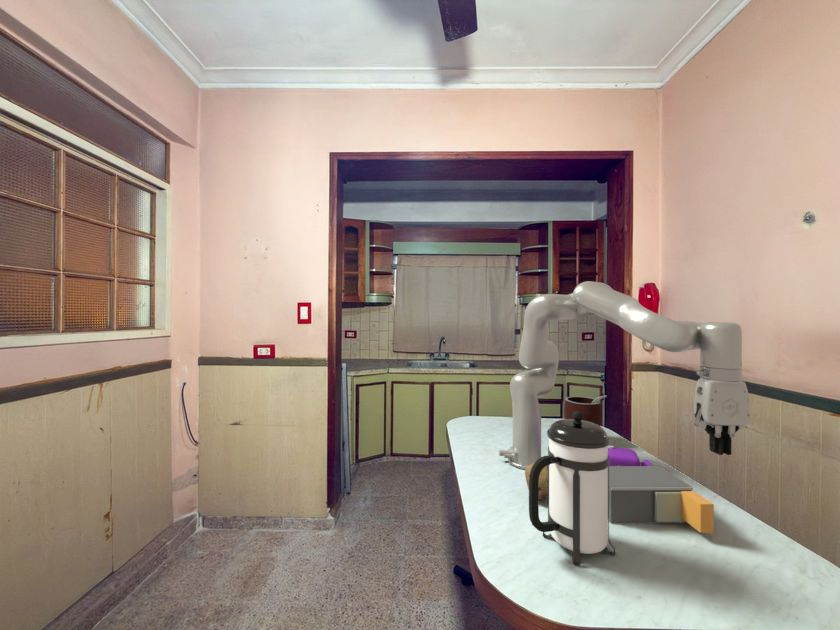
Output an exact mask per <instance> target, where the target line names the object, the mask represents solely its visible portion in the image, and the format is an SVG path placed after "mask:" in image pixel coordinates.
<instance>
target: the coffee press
mask: <svg viewBox="0 0 840 630" xmlns="http://www.w3.org/2000/svg"><path fill="white" fill-rule="evenodd" d="M572 417H573V419H565V418H564V419H559V420H556V421H554V422H553V423H552V424H550V427H549V428H548V429H547V432H546V435H547V438H548V446H547V455H543V456H541V458H539V459H538V460H537V461H536V462H535V463H534V465H533V466H532V469H531V472H530V477H529V489H528V516H529V520H530V522H531V525H532V526H533V527H534V528H535V529H536V530H537V531H539V532H542V537H543V538H544V539H546V540H548V539H550V538H553V539H554V541H555V542H557V544H559V545H561V547H564V548H565V549H567V550H569V551H572V564H573V565H578V566H580V565H581V554H584V555H585V554H589V555H591V554H598V553H600V552H602V551H603V550H605V552H606V553H607V554H608V555H609V556H615V555H616V547H615V546H614V544H613V543H612V541H611V539H610V522H609V455H608V446H609V445H611V438H610V437H609V435H608V434H607V431H606V430H605V429H604V428H603V427H602V426H599V425H597V424H595V423H592V422H589V421H584V420H582V419H583V415H582V413H581V412H578V411H576V412H574V413H573V414H572ZM547 465H548V496H547V521H541V520H540V515H539V500H540V499H539V475H540V472H541V471H542V469H543V468H544V467H545V466H547ZM546 533H549V534H546ZM608 544H609V546H610V547H611V549H612V551H611V550H610V549H608V547H607V545H608Z"/></svg>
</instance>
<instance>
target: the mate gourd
mask: <svg viewBox="0 0 840 630" xmlns="http://www.w3.org/2000/svg"><path fill="white" fill-rule="evenodd" d="M604 398H607V394H606V395H602V396H601V395H600V396H598V397H596V398H593V397H588V396H581V395H578V396H576V395H575V396H573V395H572V396H567V397H565V402H564V407H563V415H564V419H573V417H572V414H573V413H574V412H576V411H578V412H581V413H582V415H583V419H582V420H584V421H589V422H592V423H595V424H597V425H599V426H600V427H602V426H601V425H602V422H603V420H602V419H603V409H602V403H601V400H602V399H604Z"/></svg>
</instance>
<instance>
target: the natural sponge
mask: <svg viewBox="0 0 840 630" xmlns="http://www.w3.org/2000/svg"><path fill="white" fill-rule="evenodd" d="M534 463H535V462H534ZM534 463H532V464H530V465H529V466H528V467H527V468H526V469H525V471H524V475H525V482H526V486H527V489H528V490H529V477H530V472H531V469H532V466H533V465H534ZM545 498H548V465H547V466H545V467H544V468H543V469H542V471H541V472H540V475H539V500H542V499H545Z"/></svg>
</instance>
